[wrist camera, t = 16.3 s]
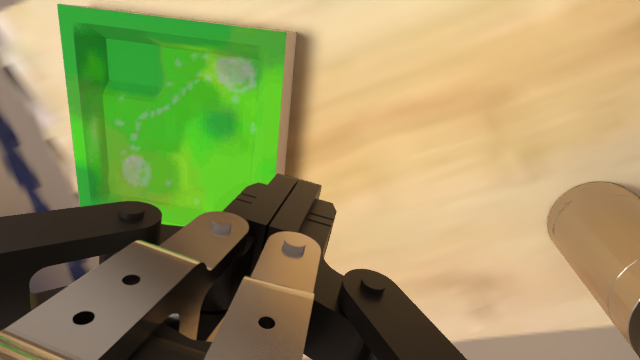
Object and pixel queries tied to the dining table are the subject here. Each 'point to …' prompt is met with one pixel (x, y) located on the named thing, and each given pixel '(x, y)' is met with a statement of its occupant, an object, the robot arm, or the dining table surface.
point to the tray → (174, 108)
